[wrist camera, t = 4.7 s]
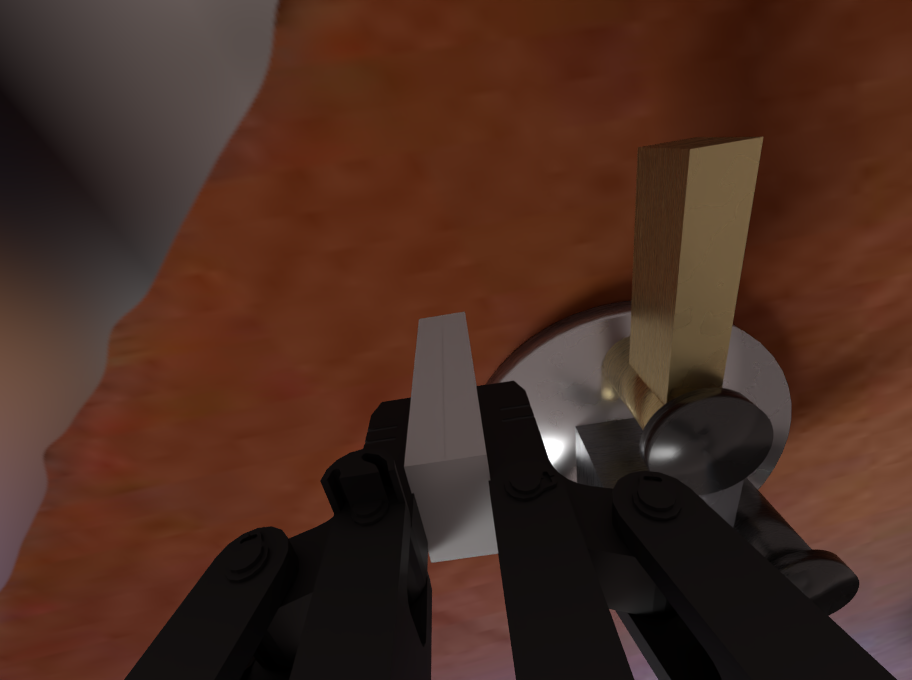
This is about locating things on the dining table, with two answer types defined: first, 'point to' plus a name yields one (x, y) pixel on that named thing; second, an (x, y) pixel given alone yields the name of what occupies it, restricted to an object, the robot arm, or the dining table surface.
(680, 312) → the brass bar with knob
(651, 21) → the dining table surface
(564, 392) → the levelling base
